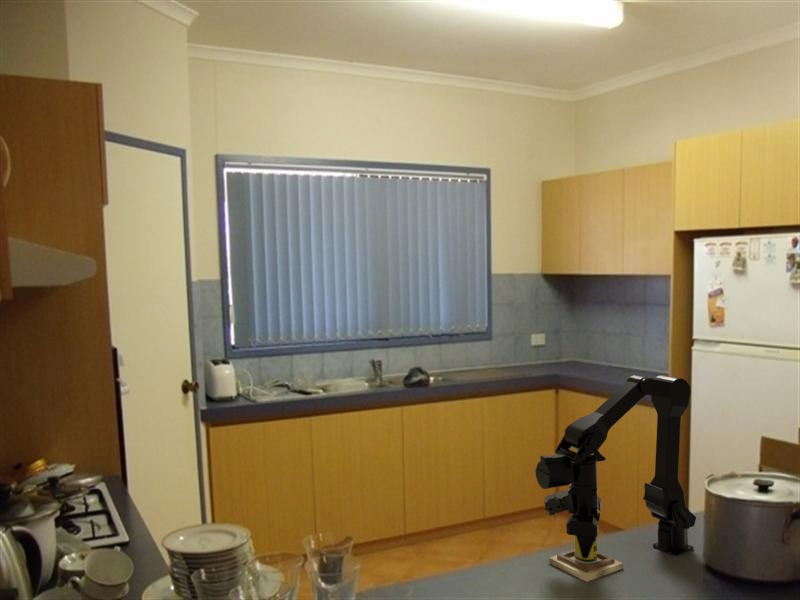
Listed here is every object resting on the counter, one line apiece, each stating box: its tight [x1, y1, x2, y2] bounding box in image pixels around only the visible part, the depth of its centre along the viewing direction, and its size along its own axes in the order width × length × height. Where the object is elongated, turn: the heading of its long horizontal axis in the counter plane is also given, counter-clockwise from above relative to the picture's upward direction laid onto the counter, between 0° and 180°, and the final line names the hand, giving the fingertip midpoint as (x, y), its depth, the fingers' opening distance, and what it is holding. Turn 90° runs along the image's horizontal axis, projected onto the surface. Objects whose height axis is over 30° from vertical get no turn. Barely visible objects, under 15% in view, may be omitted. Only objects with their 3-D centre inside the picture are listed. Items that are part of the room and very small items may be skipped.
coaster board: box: [548, 548, 624, 583], centre depth 143 cm, size 11×11×2 cm
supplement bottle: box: [573, 535, 598, 564], centre depth 143 cm, size 5×5×8 cm
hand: (585, 552), depth 143 cm, fingers closed on supplement bottle, 5 cm apart
